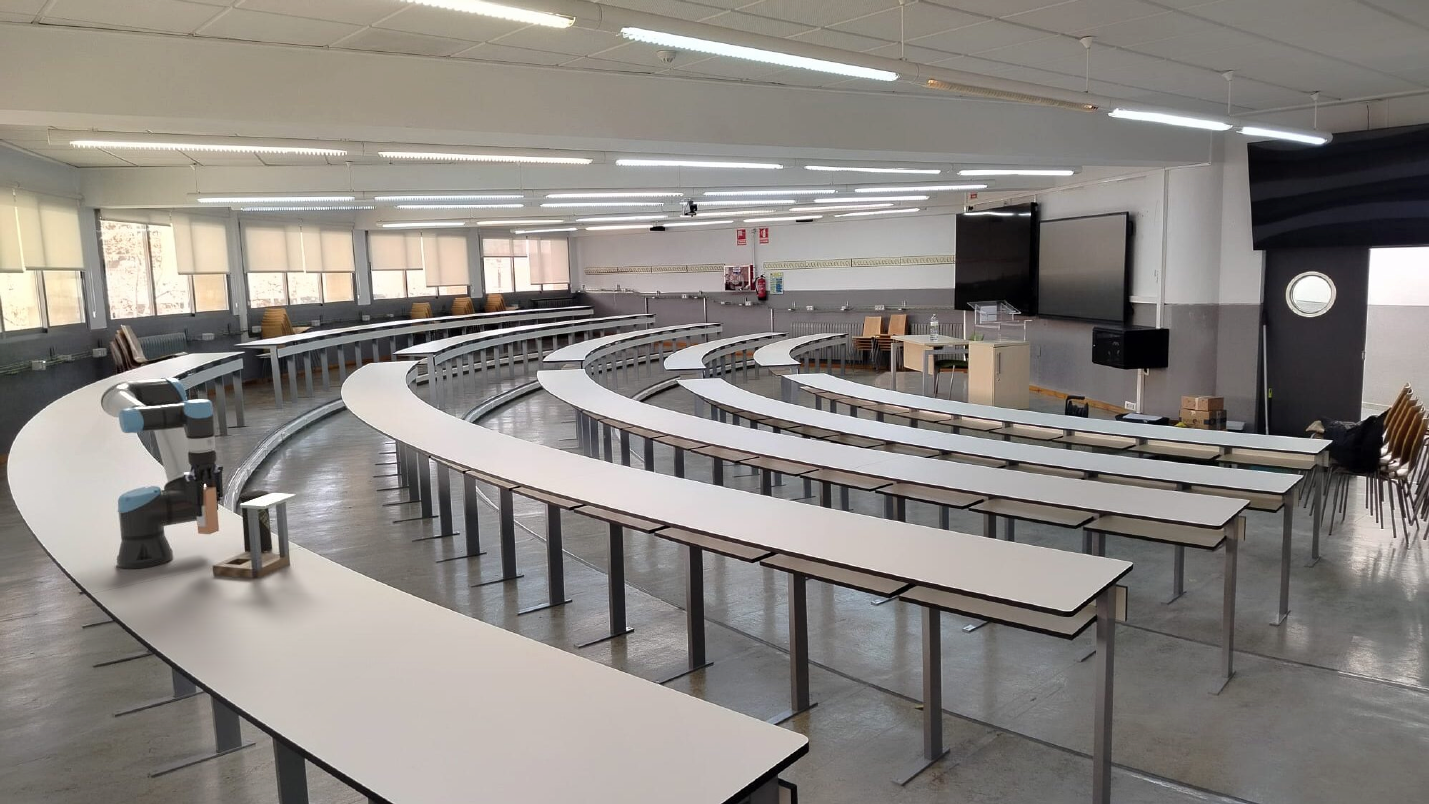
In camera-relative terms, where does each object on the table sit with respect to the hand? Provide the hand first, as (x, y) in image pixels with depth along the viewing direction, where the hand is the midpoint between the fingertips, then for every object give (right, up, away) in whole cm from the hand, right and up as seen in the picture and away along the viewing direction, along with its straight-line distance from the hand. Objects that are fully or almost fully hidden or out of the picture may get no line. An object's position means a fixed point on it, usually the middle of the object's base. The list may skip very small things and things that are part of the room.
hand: (207, 523), depth 275 cm
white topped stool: (+21, -15, -1) cm, 26 cm away
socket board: (+13, -14, +1) cm, 20 cm away
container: (+5, -12, +20) cm, 24 cm away
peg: (0, -3, 0) cm, 3 cm away
